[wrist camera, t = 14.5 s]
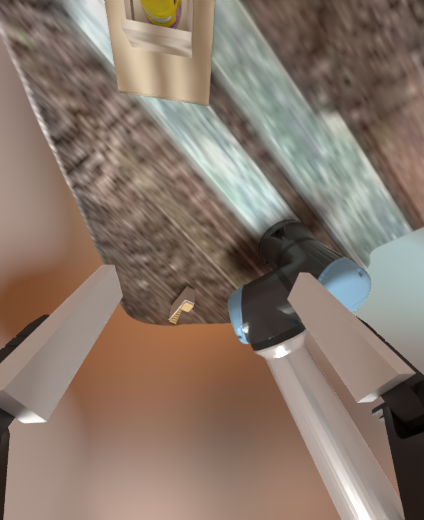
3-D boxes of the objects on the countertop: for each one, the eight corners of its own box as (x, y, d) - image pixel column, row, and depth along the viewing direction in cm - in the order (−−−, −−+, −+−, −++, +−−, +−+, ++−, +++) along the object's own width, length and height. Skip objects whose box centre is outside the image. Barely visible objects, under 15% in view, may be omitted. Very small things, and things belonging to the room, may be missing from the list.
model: (194, 289, 53) (194, 306, 47) (179, 307, 57) (177, 325, 51) (186, 285, 52) (185, 302, 46) (171, 304, 56) (168, 322, 50)
